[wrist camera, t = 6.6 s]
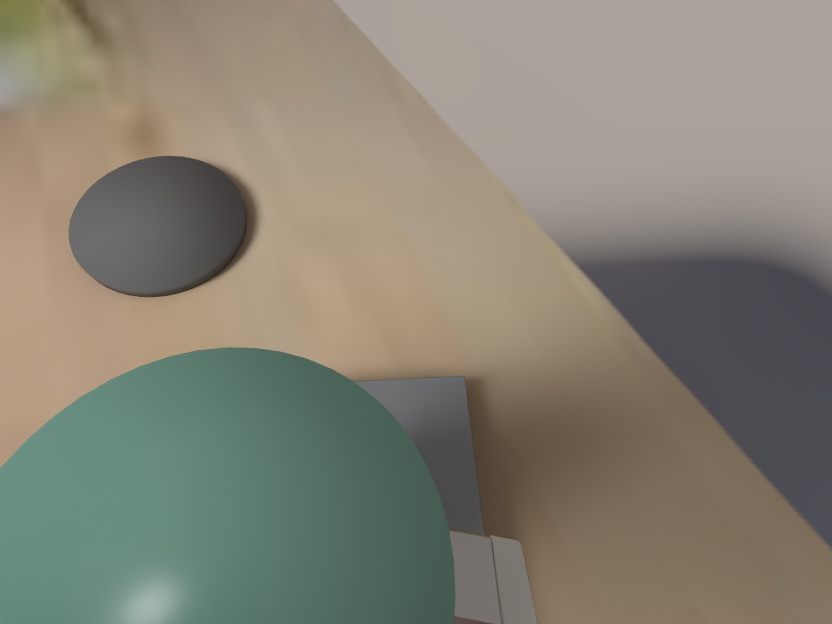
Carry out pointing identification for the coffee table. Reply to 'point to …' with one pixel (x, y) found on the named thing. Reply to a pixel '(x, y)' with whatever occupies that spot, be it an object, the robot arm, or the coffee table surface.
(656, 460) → the coffee table surface
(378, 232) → the coffee table surface
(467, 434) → the post slab
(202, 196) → the pad
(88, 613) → the cap
